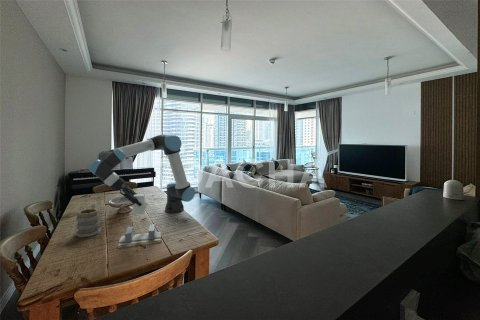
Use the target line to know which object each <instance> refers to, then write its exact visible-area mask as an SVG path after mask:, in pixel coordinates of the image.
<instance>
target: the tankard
mask: <svg viewBox="0 0 480 320" xmlns="http://www.w3.org/2000/svg"><path fill="white" fill-rule="evenodd" d="M100 217H101V213H100V212H99V209H97V208H96V204H94V203H92V205H91V207H90V208H86V209H82V210H79V211H78V212H77V213H76V217H75V220H76V221H77V224H76V229H77V231H75V236H77V237H79V238H87V237H92V236H95V235H98V234H100V233H101V232H102V230H103V229H102V227H101V226H100V225H101V220H100V219H99V218H100Z"/></svg>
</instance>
